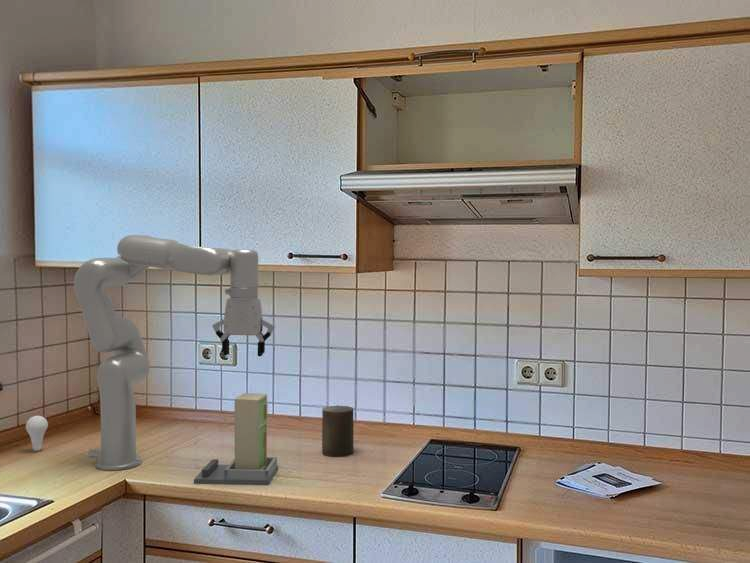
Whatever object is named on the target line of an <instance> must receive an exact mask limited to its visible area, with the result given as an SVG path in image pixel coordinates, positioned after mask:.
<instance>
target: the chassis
mask: <svg viewBox="0 0 750 563" xmlns="http://www.w3.org/2000/svg"><path fill="white" fill-rule="evenodd" d="M278 471H279V465H278V457H277V456H267V468H266V469H265V470H247V469H235V458H233V459H232V461H231V462H230V463H229V464H219V459H218V458H212V459H211V460H210V461H209V462H208V463H207V464H206V465H205V466H204V467H203V468H202V469H201V471H200V472H199V473H198V474H197V475H196V476H195V477H194V478H193V484H197V485H201V484H203V485H250V486H269V485H270V484H271V482H272V480H273V479H274V477H275V475H276V474H277V472H278Z"/></svg>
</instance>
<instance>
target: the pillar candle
mask: <svg viewBox="0 0 750 563" xmlns="http://www.w3.org/2000/svg"><path fill="white" fill-rule="evenodd" d="M321 416H322V418H321V420H322V421H321V423H322V424H321V426H322V429H321V432H322V434H321V447H322V448H321V450H322V454H323V455H325V456H328V457H334V458H335V457H336V458H337V457H347V456H348V455H349V456H351V455H353V454H354V441H355V440H354V407H352V406H348V405H339V404H336V405H330V406H324V407H322V415H321ZM349 456H348V457H349Z"/></svg>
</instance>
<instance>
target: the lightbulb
mask: <svg viewBox="0 0 750 563" xmlns="http://www.w3.org/2000/svg"><path fill="white" fill-rule="evenodd" d="M48 426H49V423H48V421H47V419H46V418H45V417H44V416H41V415H34V416H32V417H30V418H29V419H28V420H27V421H26V423H25V431H26V432H27V434H28V435H29V437H30V440H31V444H32V445H31V446H32V450H33V451H35V452H39V451H40V450H42V448H43V440H44V436H45V433H46V432H47V429H48Z"/></svg>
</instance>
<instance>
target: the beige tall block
mask: <svg viewBox="0 0 750 563" xmlns="http://www.w3.org/2000/svg"><path fill="white" fill-rule="evenodd" d="M267 435H268V395H267V393H251V392H245V393H242V394H241V395H239V396H237V397H236V398H235V399H234V459H235V469H247V470H265V469H266V468H267V457H268V436H267Z"/></svg>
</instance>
